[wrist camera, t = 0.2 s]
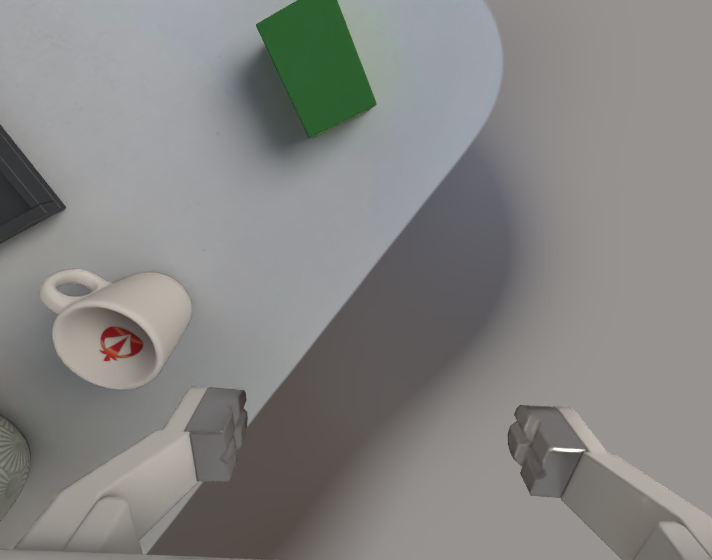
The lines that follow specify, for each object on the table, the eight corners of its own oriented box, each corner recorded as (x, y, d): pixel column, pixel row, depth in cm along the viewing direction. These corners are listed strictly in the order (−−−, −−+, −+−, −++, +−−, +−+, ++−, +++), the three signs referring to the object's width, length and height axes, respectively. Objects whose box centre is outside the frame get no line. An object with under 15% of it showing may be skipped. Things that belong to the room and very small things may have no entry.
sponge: (270, 39, 25) (255, 24, 21) (333, 3, 24) (329, -19, 20) (315, 136, 27) (309, 138, 24) (374, 107, 26) (376, 104, 23)
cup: (74, 287, 33) (-7, 334, 25) (110, 223, 30) (32, 255, 23) (179, 348, 35) (133, 407, 28) (219, 295, 33) (180, 343, 26)
